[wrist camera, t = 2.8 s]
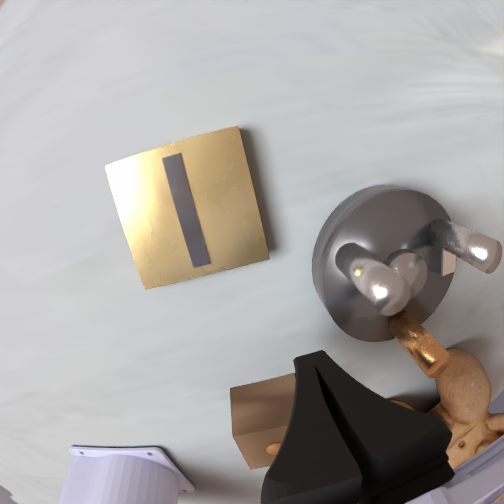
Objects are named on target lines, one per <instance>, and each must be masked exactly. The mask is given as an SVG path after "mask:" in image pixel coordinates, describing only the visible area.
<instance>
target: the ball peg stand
mask: <svg viewBox="0 0 504 504" xmlns="http://www.w3.org/2000/svg"><path fill="white" fill-rule="evenodd" d="M457 257H459V258H460V259H462V260H464V261H466V262H468V263H469V264H471V265H473V266H475V267H477V268H478V269H480V270H482V271H484V272H485V273H487V274H489V273H492V272H493V271H494V270H495V269H496V268H497V267H498V265H499V263H500V260H501V257H502V246H501V244H500V242H499V241H496V240H494V239H492V238H489V237H487V236H485V235H482V234H480V233H478V232H475V231H473V230H470V229H468V228H466V227H463V226H461V225H458V224H456V223H453V222H451V220H450V218H449V216H448V214H447V213H446V211H445V210H444V209H443V207H442V206H441V205H440V204H439V203H438V202H437V201H436V200H434V199H433V198H431V197H430V196H428V195H426V194H423V193H421V192H417V191H413V190H409V189H405V188H401V187H397V186H392V185H378V186H372V187H368V188H365V189H363V190H360V191H358V192H356V193H354V194H353V195H351V196H350V197H348V198H347V199H345V200H344V201H343V202H342V203H341V204H340V205H339V206H338V207H337V208H336V209H335V210H334V211H333V212H332V213H331V215H330V216H329V217H328V219H327V220H326V222H325V224H324V225H323V227H322V229H321V231H320V233H319V236H318V238H317V241H316V244H315V248H314V252H313V258H312V275H313V281H314V285H315V289H316V291H317V294H318V296H319V298H320V299H321V301H322V303H323V304H324V306H325V307H326V309H327V311H328V312H329V314H330V315H331V317H332V318H333V320H334V321H335V323H336V324H337V325H338V326H339V328H341V329H342V330H343V331H344V332H345V333H347V334H348V335H350V336H352V337H354V338H357V339H359V340H363V341H369V342H380V341H387V340H392V339H395V338H396V339H397V340H398V341H399V343H400V344H401V345H402V346H403V347H404V348H405V350H406V351H407V352H408V353H409V354H410V356H411V357H412V358H413V359H414V360H415V362H416V363H417V364H418V365H419V366H420V368H421V369H422V370H423V371H424V373H425V374H426V375H427V376H428V377H429V378H435V377H437V376H439V375H440V374H442V373H443V372H444V371H445V370H446V369H447V367H448V366H449V364H450V361H451V355H450V354H449V353H448V352H447V351H446V350H445V348H444V347H443V346H442V345H441V344H440V343H439V342H438V341H437V340H436V339H435V338H434V337H433V336H432V335H431V334H430V333H429V332H428V331H426V330H425V329H424V328H423V327H422V326H421V325H420V324H422V323H423V322H424V321H425V320H426V319H427V318H428V317H429V316H430V315H431V314H432V313H433V312H434V310H435V309H436V308H437V307H438V305H439V304H440V302H441V301H442V299H443V298H444V296H445V294H446V292H447V290H448V288H449V286H450V283H451V280H452V277H453V274H454V271H456V258H457Z"/></svg>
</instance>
